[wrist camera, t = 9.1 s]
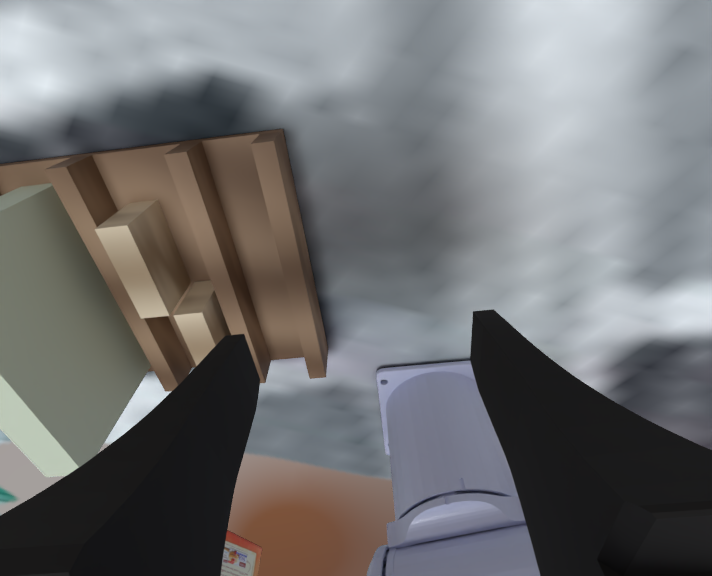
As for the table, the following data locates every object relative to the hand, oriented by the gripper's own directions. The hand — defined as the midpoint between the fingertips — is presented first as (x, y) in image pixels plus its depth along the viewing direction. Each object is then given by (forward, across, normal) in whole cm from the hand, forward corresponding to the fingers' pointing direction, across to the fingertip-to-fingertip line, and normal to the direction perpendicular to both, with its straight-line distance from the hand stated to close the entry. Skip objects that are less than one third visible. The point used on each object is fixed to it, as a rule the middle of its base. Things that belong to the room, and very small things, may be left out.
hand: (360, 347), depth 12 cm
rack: (+10, +10, +2) cm, 15 cm away
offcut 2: (+10, +9, +5) cm, 14 cm away
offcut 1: (+10, +11, 0) cm, 15 cm away
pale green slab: (+10, +15, +2) cm, 18 cm away
